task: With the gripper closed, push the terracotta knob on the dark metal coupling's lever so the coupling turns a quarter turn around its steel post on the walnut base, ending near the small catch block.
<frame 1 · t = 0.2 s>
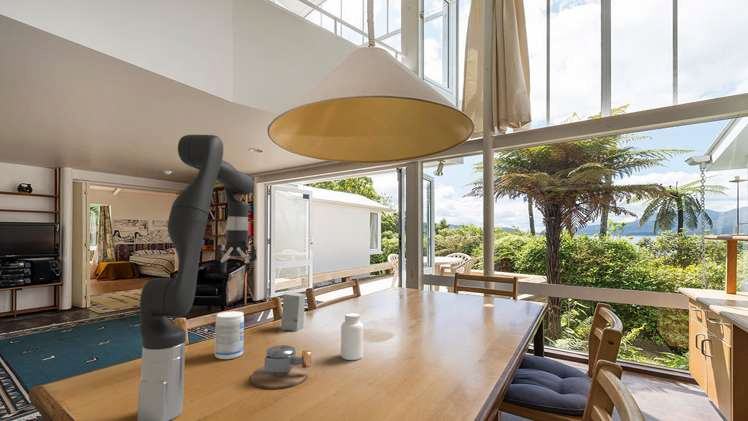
hand: (235, 272, 135), 29 cm above the table, tool pointing down, fingers open, 8 cm apart
pill bottle: (351, 357, 131), on the table
coupling: (288, 358, 113), point 6 cm above the table, hinge at 0.0°
skincare box: (292, 329, 165), on the table
supplement tub: (228, 355, 130), on the table
post base: (280, 376, 113), on the table
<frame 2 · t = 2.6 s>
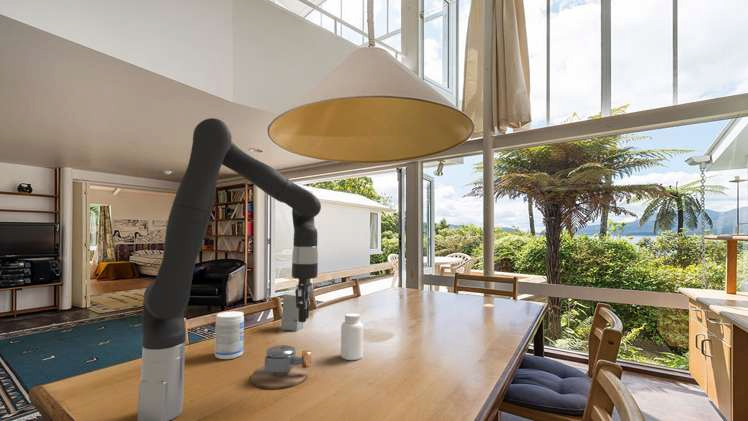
hand: (303, 319, 107), 19 cm above the table, tool pointing down, fingers open, 3 cm apart
nothing on the table moved.
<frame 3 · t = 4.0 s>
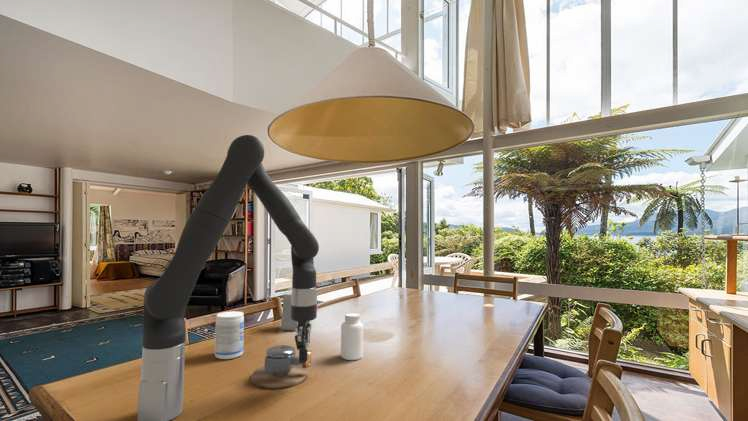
hand: (303, 361, 107), 7 cm above the table, tool pointing down, fingers closed
nothing on the table moved.
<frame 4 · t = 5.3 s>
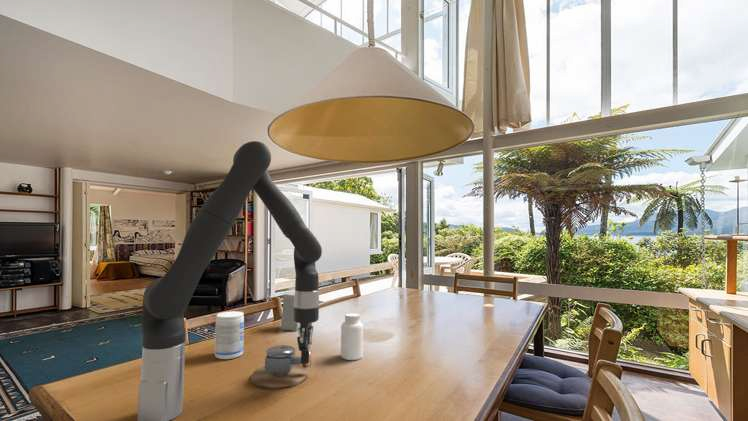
hand: (305, 362, 110), 6 cm above the table, tool pointing down, fingers closed
coupling: (288, 358, 113), point 6 cm above the table, hinge at 1.7°, touching gripper
everything else where it was.
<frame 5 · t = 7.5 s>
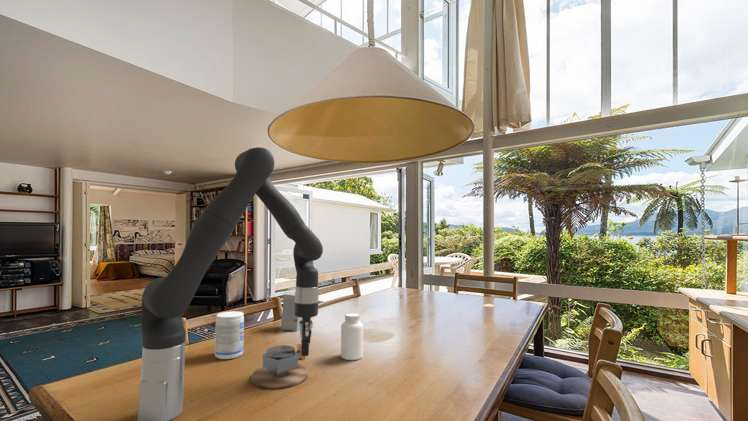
hand: (304, 355, 116), 6 cm above the table, tool pointing down, fingers closed
coupling: (287, 356, 115), point 6 cm above the table, hinge at 50.3°, touching gripper
everything else where it was.
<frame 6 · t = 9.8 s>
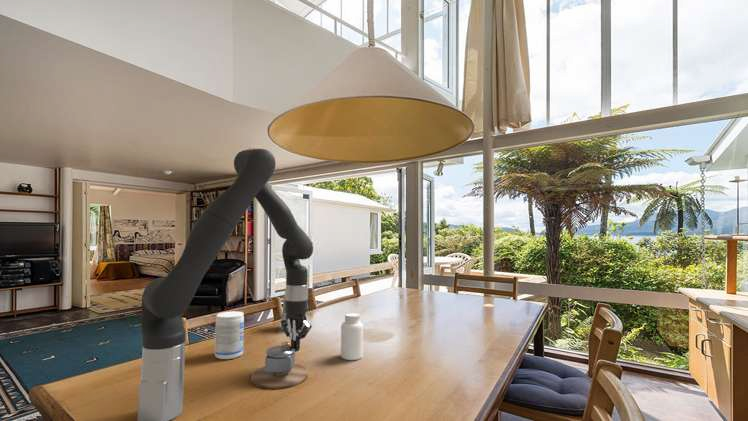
hand: (295, 350, 120), 6 cm above the table, tool pointing down, fingers closed
coupling: (282, 355, 115), point 6 cm above the table, hinge at 92.8°, touching gripper
everything else where it was.
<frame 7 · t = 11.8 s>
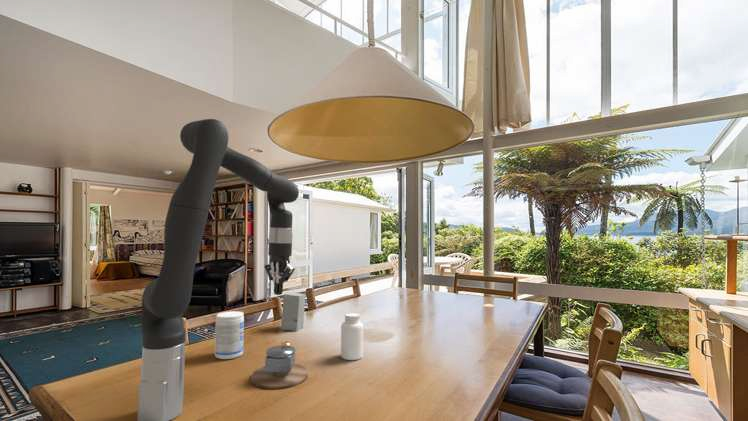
hand: (278, 294, 119), 24 cm above the table, tool pointing down, fingers closed
coupling: (282, 355, 115), point 6 cm above the table, hinge at 93.0°
everything else where it was.
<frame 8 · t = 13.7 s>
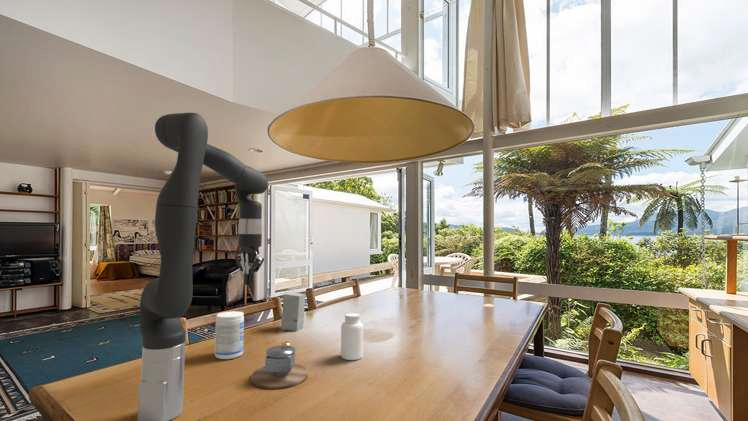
hand: (248, 284, 120), 27 cm above the table, tool pointing down, fingers closed
nothing on the table moved.
at the end: coupling at +93° (first picture: +0°); coupling touching nothing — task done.
